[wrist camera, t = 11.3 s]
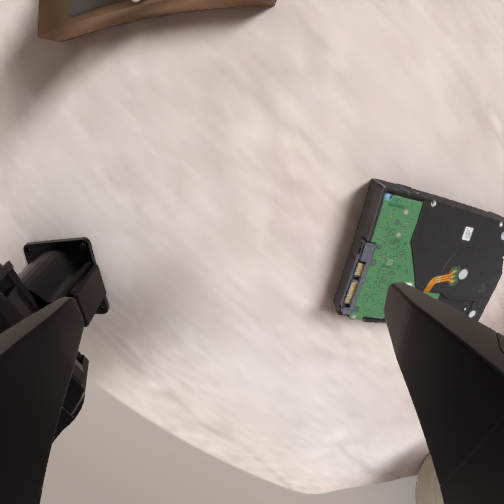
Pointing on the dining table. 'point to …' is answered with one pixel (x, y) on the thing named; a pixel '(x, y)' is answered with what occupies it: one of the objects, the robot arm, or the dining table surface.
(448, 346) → the robot arm
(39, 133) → the dining table surface
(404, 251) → the disk drive
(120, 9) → the walnut stand
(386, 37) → the dining table surface
